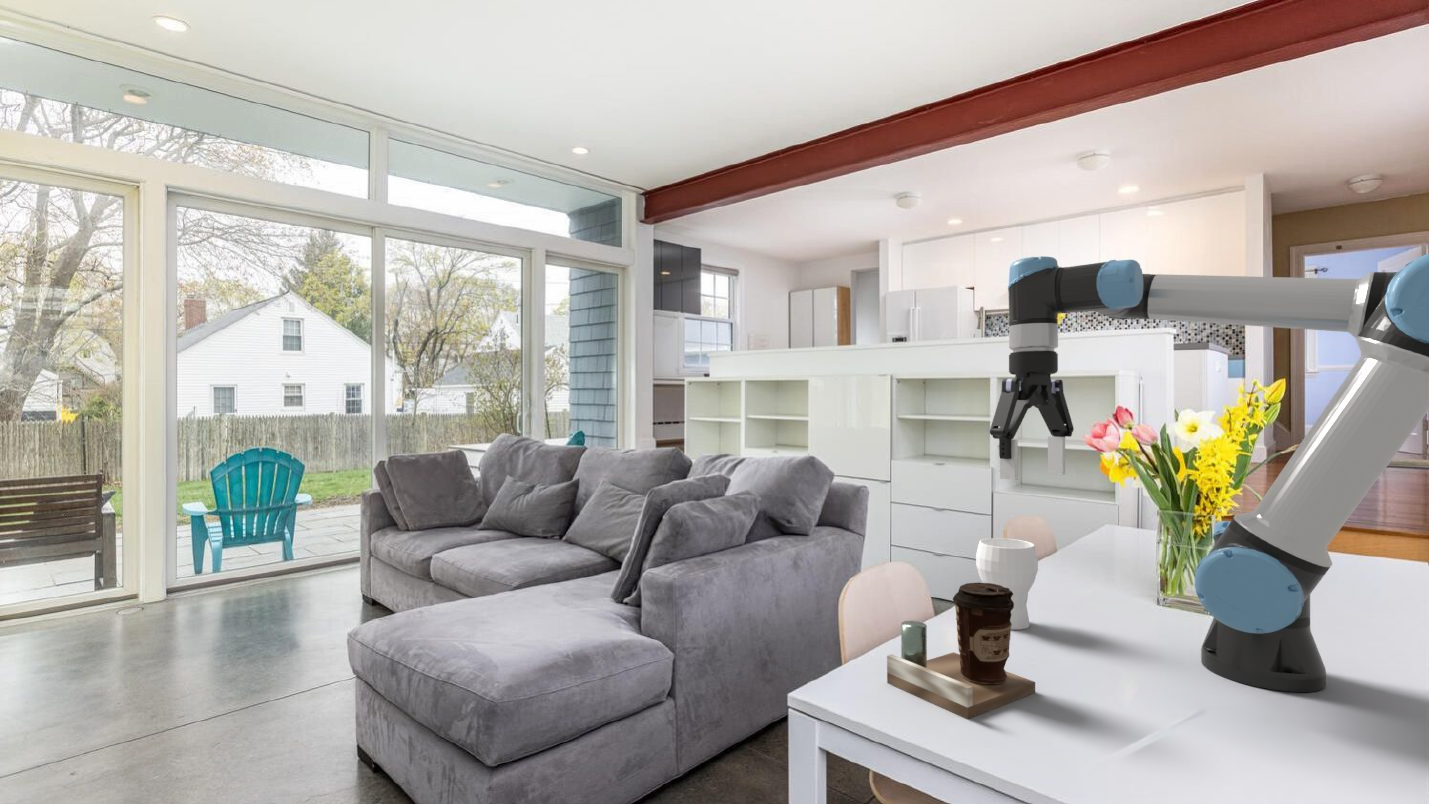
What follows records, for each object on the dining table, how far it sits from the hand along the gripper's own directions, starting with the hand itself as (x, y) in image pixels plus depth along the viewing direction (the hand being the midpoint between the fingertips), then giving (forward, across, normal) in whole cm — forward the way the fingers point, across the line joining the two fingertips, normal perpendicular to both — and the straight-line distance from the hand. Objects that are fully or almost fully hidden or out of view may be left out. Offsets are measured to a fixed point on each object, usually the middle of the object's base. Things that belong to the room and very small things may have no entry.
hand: (1033, 476), depth 117 cm
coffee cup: (+27, +22, +6) cm, 35 cm away
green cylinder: (+27, +28, -1) cm, 39 cm away
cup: (+29, -7, -10) cm, 31 cm away
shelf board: (+29, +24, +4) cm, 38 cm away
